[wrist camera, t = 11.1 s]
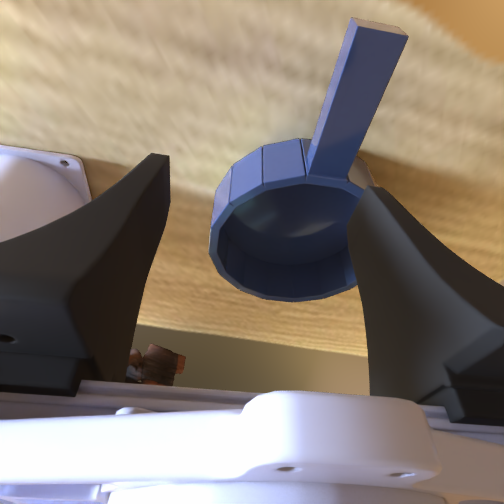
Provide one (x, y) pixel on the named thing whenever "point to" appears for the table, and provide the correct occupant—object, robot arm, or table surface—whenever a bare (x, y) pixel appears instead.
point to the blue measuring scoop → (306, 185)
